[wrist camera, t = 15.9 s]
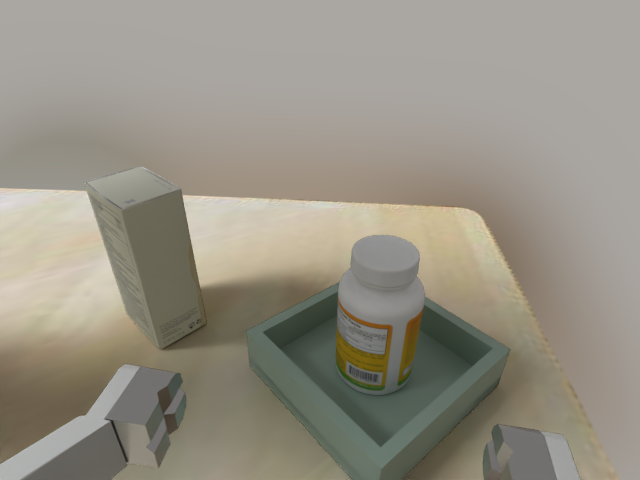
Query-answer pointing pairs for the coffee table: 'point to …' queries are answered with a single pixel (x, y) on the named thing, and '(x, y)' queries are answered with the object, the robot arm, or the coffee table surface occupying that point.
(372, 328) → the supplement bottle
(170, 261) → the skincare box
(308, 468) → the coffee table surface
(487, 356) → the tray
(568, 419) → the coffee table surface
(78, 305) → the coffee table surface
